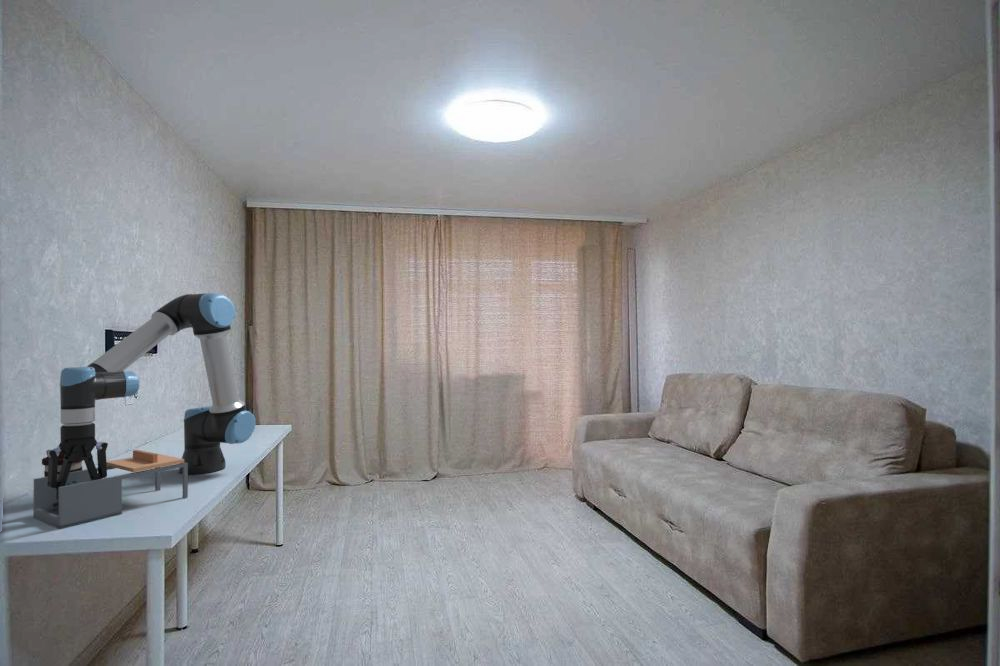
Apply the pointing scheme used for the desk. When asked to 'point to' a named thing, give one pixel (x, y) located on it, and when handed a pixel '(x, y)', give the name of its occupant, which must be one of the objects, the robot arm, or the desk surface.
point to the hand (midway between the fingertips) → (78, 508)
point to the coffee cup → (75, 465)
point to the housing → (88, 496)
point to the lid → (144, 461)
